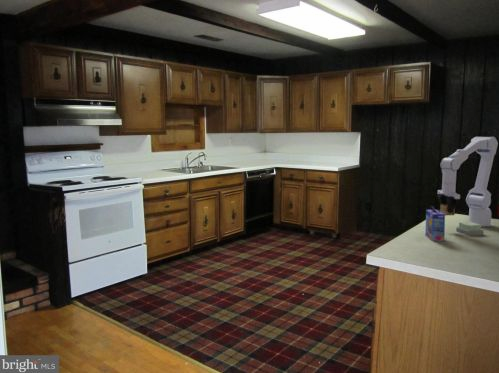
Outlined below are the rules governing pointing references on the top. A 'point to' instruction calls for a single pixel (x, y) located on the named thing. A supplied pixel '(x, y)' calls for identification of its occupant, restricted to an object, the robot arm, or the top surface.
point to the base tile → (469, 232)
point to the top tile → (469, 226)
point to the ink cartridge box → (435, 225)
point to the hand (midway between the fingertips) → (447, 211)
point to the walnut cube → (446, 209)
